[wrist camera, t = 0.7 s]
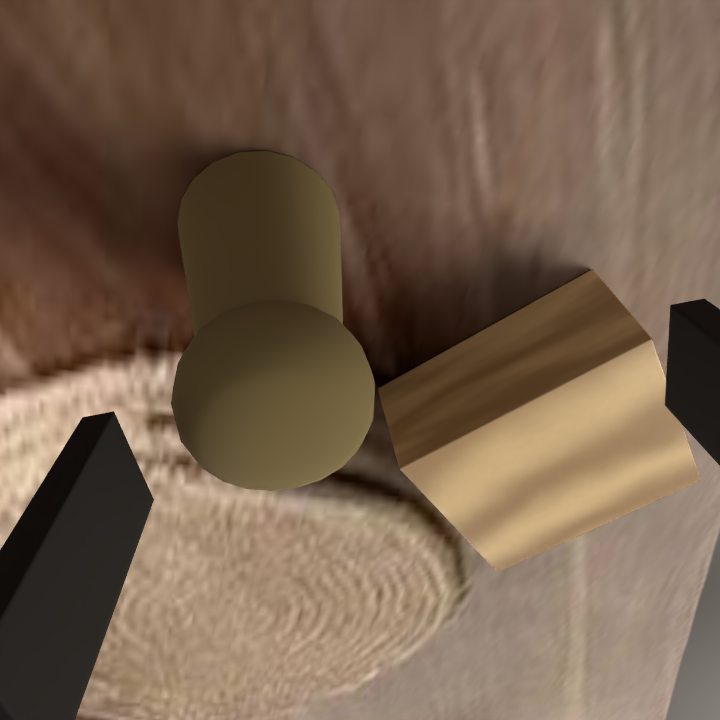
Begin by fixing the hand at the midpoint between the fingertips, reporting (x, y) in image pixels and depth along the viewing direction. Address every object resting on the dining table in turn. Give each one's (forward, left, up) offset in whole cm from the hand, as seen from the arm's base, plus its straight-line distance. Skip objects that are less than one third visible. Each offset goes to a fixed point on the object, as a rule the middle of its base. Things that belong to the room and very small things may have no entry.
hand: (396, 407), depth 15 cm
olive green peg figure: (0, -3, -11) cm, 12 cm away
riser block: (+14, +5, -11) cm, 18 cm away
